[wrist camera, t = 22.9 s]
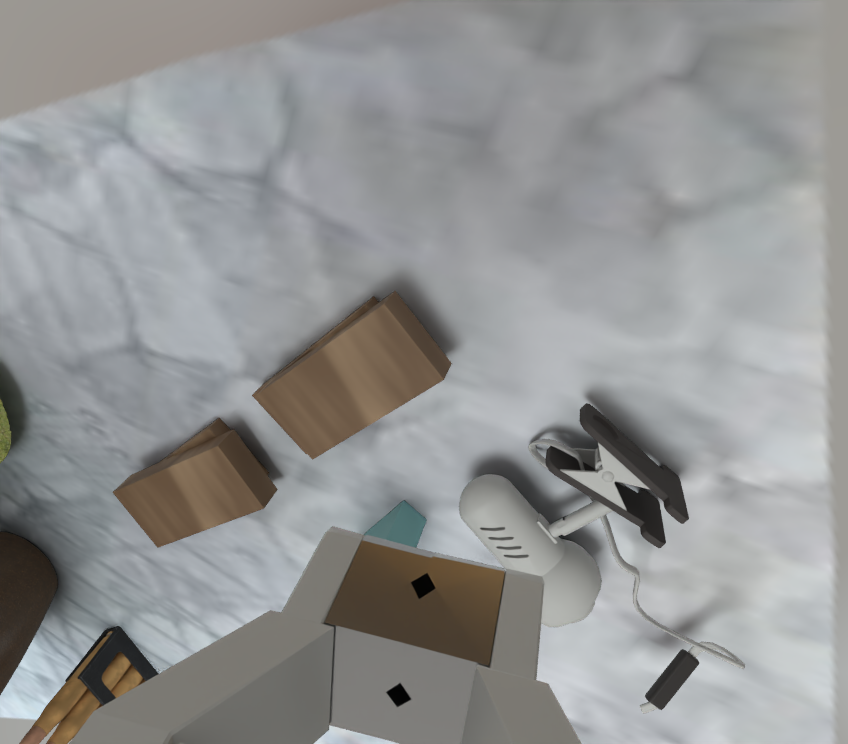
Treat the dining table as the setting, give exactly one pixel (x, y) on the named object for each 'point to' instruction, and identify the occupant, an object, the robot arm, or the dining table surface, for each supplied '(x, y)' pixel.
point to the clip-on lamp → (565, 560)
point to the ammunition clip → (92, 686)
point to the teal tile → (400, 526)
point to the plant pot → (21, 599)
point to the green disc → (4, 433)
